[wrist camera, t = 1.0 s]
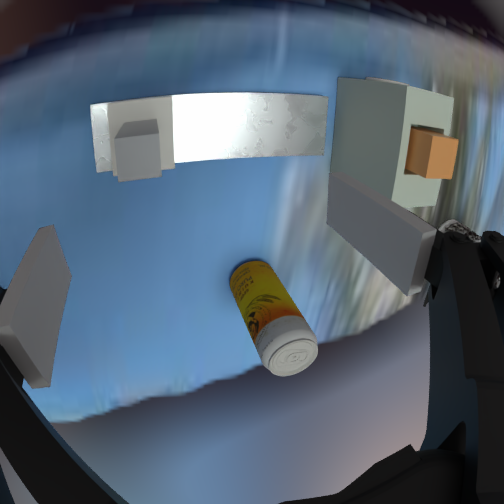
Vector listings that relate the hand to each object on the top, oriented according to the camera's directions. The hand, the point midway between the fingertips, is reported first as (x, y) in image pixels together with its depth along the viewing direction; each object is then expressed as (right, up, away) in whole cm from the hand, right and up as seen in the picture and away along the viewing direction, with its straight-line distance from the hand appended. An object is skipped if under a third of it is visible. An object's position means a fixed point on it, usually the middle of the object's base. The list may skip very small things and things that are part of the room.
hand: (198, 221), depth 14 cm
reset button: (+18, +10, +15) cm, 25 cm away
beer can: (+2, -5, +29) cm, 30 cm away
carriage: (-8, +10, +15) cm, 20 cm away
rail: (-2, +12, +18) cm, 22 cm away
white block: (+16, +14, +23) cm, 31 cm away
